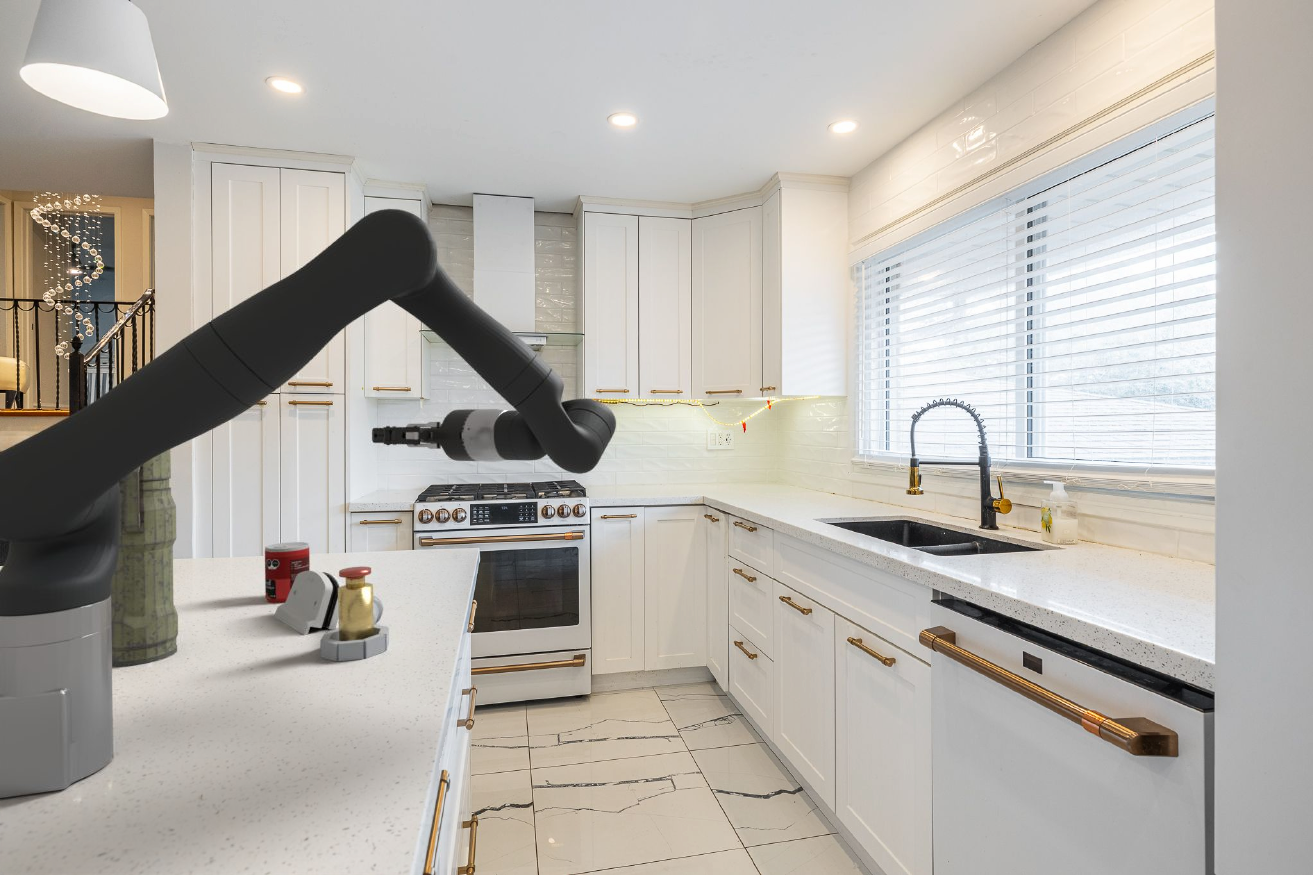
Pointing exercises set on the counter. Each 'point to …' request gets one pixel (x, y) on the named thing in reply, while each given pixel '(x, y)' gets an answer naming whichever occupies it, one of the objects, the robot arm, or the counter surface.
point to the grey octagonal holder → (356, 641)
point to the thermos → (145, 567)
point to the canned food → (284, 568)
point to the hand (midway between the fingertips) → (395, 435)
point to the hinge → (311, 602)
